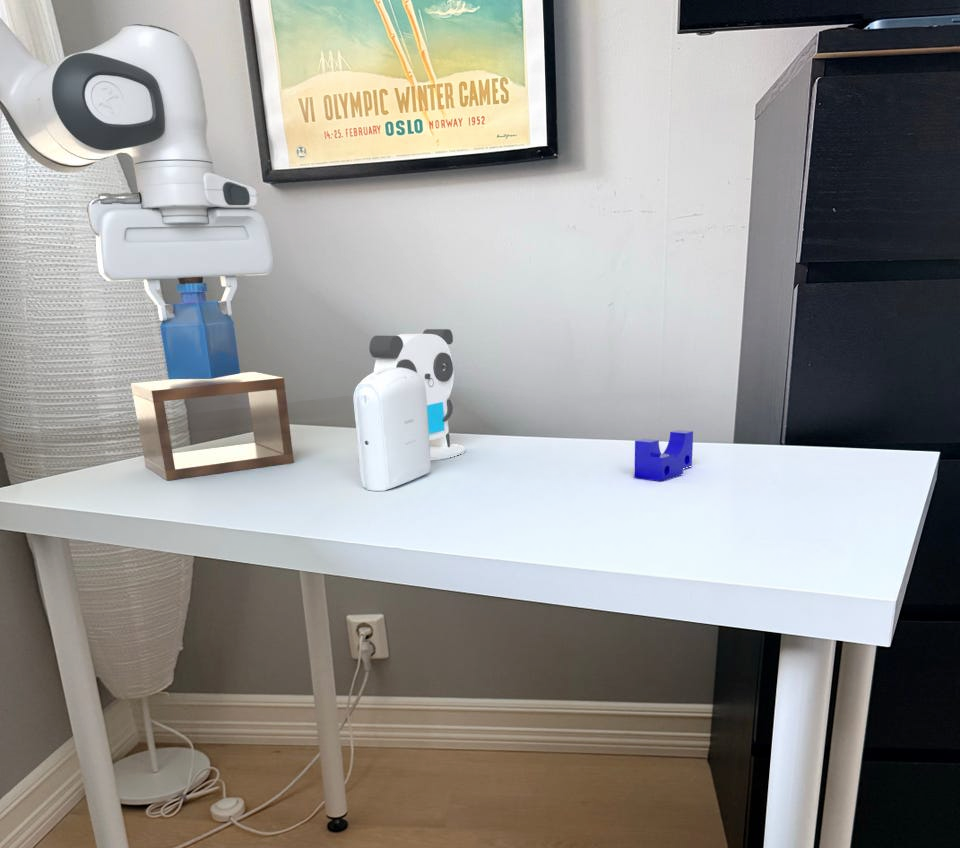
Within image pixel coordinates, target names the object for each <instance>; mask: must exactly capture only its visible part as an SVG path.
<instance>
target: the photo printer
mask: <svg viewBox="0 0 960 848" xmlns="http://www.w3.org/2000/svg"><path fill="white" fill-rule="evenodd" d="M352 400H353V401H352V402H353V411H354V420H355V431H356V440H357V451H358V462H359V471H360V482H361V485H362V487H363V488H365V490H367V491H370V492H371V491H372V492H385V491H388V490H390V489H393V488H396V487H399V486H402V485H404V484H406V483H409V482H411V481H414V480H416V479H418V478H420V477H422V476H425V475H427V474H429V473H430V472H431V469H432V460H431V458H430V442H429V426H428V413H427V399H426V388H425V384H424V381H423V379H422V378H421V376H420V375H419V374H418V373H416V372H414V371H412V370H410V369H407V368H395V367H388V368H382V369H379V370H377V371H375V372H374V371H373V372H371V373H369V374H368V375H367V376H365V377H364V378H363V379H362V380H361V381H360V382H359V383H358V384H357V385H356V387H355V389H354V392H353V399H352Z"/></svg>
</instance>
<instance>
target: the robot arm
mask: <svg viewBox="0 0 960 848" xmlns="http://www.w3.org/2000/svg"><path fill="white" fill-rule="evenodd" d="M0 111H1V113H2V114H3V116H4V118H5V120H6V122H7V124H8V126H9V128H10V129H11V131H12V134H13V135H14V137H15V139H16V140H17V142H18V143H19V145H20V147H22V150H24V151H25V152H26V153H27V155H29V157H31V158H32V159H33V160H34V161H36V162H37V163H39V164H40V165H42V166H43V167H45V168H47V169H49V170H52V171H55V172H58V173H59V172H60V173H66V174H67V173H68V174H71V173H77V172H81V171H83V170H85V169H88V168H89V167H91V166H92V165H93V164H95V163H97V162H99V161H102V160H105V159H108V158H110V157H112V156H115V155H118V154H120V153H122V154H123V153H125V154H127V155H128V156H130V157H131V159H132V163H133V169H134V175H135V181H136V186H137V192H123V193H110V192H102V193H98V194H97V196H96V197H94V198H92V199H91V200H90V201H89V202H88V205H87V207H86V215H87V219H88V224H89V228H90V230H91V231H92V233H93V234H94V235H95V243H96V258H97V259H96V260H97V266H98V272H99V275H101V277H102V278H103V279H105V280H106V281H107V282H122V281H123V282H125V281H126V282H127V281H128V282H129V281H143V286H144V291H145V292H146V293H147V295H148V296H149V297H150V299H151V300H152V302H153V303H154V304H155V306H157V312H158V318H159V321H161V322H162V321H168V320H172V319H174V318H175V315H174V313H173V311H174V309H173V305H170V304H166V302H165V300H163V299H164V298H162V296H161V295H160V294H159V292H158V291H157V290H161V282H160V280H170V279H173V280H174V279H178V278H191V277H203V278H218V277H219V278H220V279H219V280H220V285H221V287H225V289H224V292H223V295H222V297H221V300H220V301H218V305H219V308H220V309H221V312H222V313H223V314H224V315H225V316H228V317H230V318H231V317H232V316H233V311H232V305H231V302H232V301H233V299H234V295H235V294H236V291H237V289H238V279H237V277H244V276H245V277H246V276H265V275H270V274H271V272H272V271H273V268H274V266H275V260H274V253H273V252H274V251H273V246H272V241H271V237H270V231H269V229H268V225H267V222H266V220H265V218H264V216H263V214H261V212H259V211H258V210H256V209H254V208H256V207H258V204H259V194H258V191H257V189H256V188H254V187H252V186H250V185H248V184H244V183H241V182H237V181H235V180H232V179H229V178H227V177H225V176H221V175H219V174H216V173H215V167H214V160H213V157H212V154H211V152H210V149H209V146H208V141H207V132H208V131H207V130H208V115H207V107H206V101H205V95H204V88H203V84H202V79H201V75H200V71H199V67H198V63H197V59H196V57H195V55H194V52H193V50H192V48H191V47H190V45H189V43H188V42H187V41H186V40H185V39H184V38H182V37H181V36H180V35H179V34H177V33H176V32H174V31H171V30H169V29H167V28H165V27H160V26H156V25H152V24H141V23H136V24H129V25H125V26H124V27H122V28H121V29H120V30H119V32H118V33H117V34H115V35H114V36H112V37H111V38H110V39H107V40H106V41H104V42H103V43H101V44H99V45H97V46H95V47H93V48H90V49H87V50H83V51H80V52H75V53H71V54H69V55H67V56H65V57H63V58H60V59H59V60H56V61H55V62H54V63H52V64H50V65H49V64H47V63H44V62H43V61H42V60H41V59H38V58H37V57H36V56H35V55H34V54H33V53H32V52H31V51H30V50H29V49H28V48H27V47H26V46H25V44H24V43H23V42H22V41H21V40H20V39H19V37H17V35H16V34H15V33H14V32H13V31H12V29H11V28H10V26H9V25H7V24H6V23H5V21H4V20H3V19H2V17H0Z"/></svg>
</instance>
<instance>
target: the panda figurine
mask: <svg viewBox="0 0 960 848" xmlns="http://www.w3.org/2000/svg"><path fill="white" fill-rule="evenodd" d="M453 341H454V335H453V332H452V330H451V329H448V328H427V329H424V330H423V331H422V333H399V334H396V335H374V336H373V337H372V338H371V339H370V341H369V348H368V349H369V353H370V356H371V357H372V358H375V363H374V367H373V372H375V371H377V370H379V369H382V368H388V367H395V368H407V369H410V370H412V371H414V372H416V373H418V374H419V375H420V376H421V378H422V379H423V381H424V384H425V388H426V399H427V413H428V426H429V442H430V458H431V461H439V460H440V461H441V460H447V459H450V457H451V458H455V457H458V456H457V455H459V456H461V455H463V454H465V453H466V447H465V446H464V445H462V444H457V443H451V438H450V431H449V419H450V418H451V416H452V414H453V409H454V408H453V403H452V400H451V399H449V397H450V395H451V393H452V390H453V386H454V381H455V368H454V361H453V358H452V357H453V356H452V354H451V350H450V347H449V345H452V344H453ZM464 452H465V453H464ZM460 454H461V455H460ZM454 456H455V457H454Z"/></svg>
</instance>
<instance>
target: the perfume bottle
mask: <svg viewBox="0 0 960 848" xmlns="http://www.w3.org/2000/svg"><path fill="white" fill-rule="evenodd" d="M177 280H178V283H177V284H175V285H176V291H177V294H178V293H179V294H180V300H181V301H180V302H175V303H174V302H172V303H169V305H173V309H174V311H173V313H174V315H175V318H174V319H172V320H168V321H161V323H160V324H159V325H160V326H159V328H160V334H161V340H162V341H161V342H162V347H163V352H164V359H165V360H164V361H165V366H166V372H167V378H168V380H172V379H214V378H219V377H224V376H229V375H235V374H240V373H241V368H240V361H239V360H240V359H239V355H238V354H239V353H238V346H237V339H236V330H235V324H234V320H233V319H232V318H231V317H228V316H225V315H224V314H223V313H222V312H221V309H220V308H219V305H218V302H219V301H218V300H210V301H207V298H206V292H208V287H207V282H204V277H191V278H177Z"/></svg>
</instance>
